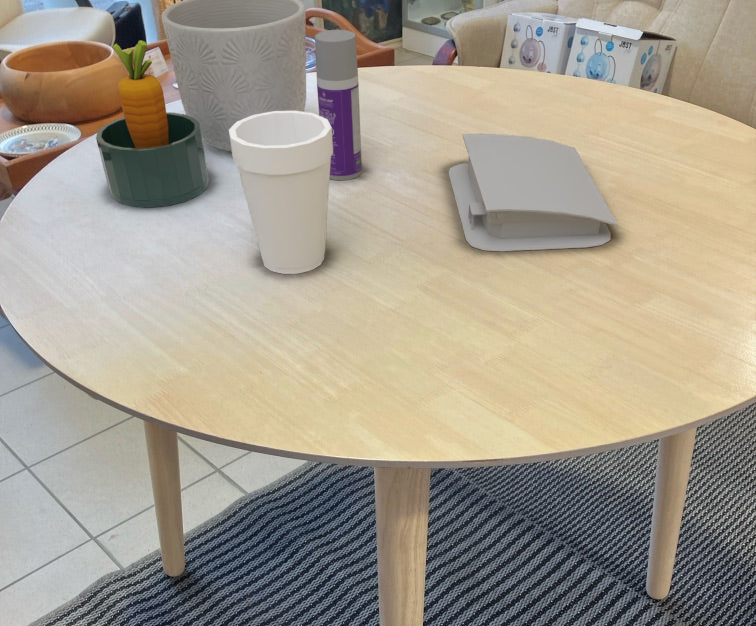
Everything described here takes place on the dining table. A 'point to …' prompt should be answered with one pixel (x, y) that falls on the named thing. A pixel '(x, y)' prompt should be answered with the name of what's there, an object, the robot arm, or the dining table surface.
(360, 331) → the dining table surface
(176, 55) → the planter
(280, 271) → the foam cup
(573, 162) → the grey flat folded piece
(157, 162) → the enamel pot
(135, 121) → the carrot
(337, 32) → the container
